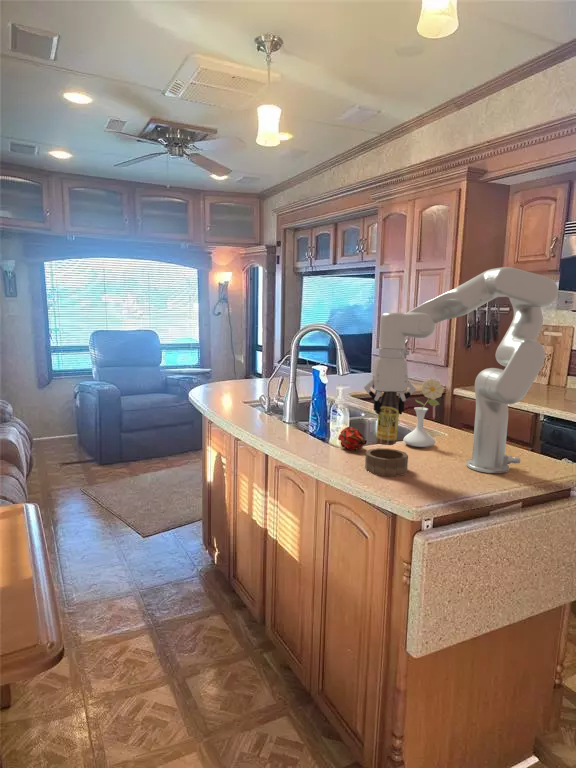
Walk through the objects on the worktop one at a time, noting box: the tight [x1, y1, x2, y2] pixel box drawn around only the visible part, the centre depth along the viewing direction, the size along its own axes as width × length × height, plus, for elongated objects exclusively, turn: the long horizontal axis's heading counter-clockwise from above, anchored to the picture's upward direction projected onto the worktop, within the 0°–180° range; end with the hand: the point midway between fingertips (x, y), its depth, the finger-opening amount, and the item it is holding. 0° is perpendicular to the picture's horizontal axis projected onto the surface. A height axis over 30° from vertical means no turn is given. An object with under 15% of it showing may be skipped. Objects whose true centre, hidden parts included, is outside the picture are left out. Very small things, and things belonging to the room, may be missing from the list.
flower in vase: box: [402, 377, 444, 448], centre depth 182 cm, size 13×11×25 cm
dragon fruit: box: [337, 426, 368, 452], centre depth 177 cm, size 8×8×12 cm
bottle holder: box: [364, 447, 409, 477], centre depth 155 cm, size 12×12×5 cm
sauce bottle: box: [375, 391, 400, 446], centre depth 152 cm, size 7×6×20 cm
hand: (388, 412), depth 152 cm, fingers closed on sauce bottle, 6 cm apart
